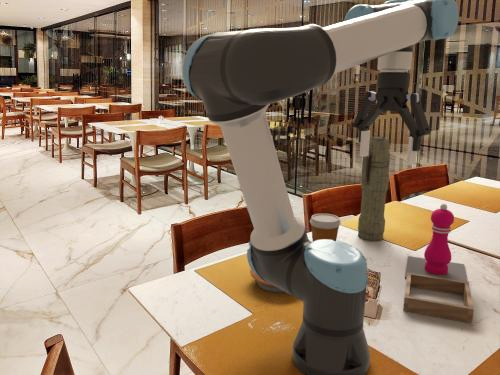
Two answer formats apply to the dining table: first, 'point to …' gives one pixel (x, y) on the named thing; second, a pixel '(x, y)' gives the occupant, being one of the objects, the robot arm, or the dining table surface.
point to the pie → (265, 284)
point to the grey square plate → (418, 267)
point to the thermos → (374, 190)
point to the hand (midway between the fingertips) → (386, 160)
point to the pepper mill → (439, 242)
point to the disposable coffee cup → (324, 226)
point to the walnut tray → (438, 307)
